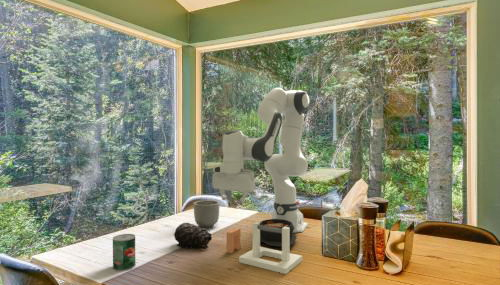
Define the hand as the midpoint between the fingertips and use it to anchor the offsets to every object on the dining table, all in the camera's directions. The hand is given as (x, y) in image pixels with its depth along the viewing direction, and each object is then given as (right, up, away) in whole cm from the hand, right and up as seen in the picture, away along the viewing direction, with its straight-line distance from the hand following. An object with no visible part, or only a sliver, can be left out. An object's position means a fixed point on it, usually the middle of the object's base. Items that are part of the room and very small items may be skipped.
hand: (233, 201), depth 132 cm
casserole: (+19, -21, +12) cm, 31 cm away
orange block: (0, -21, 0) cm, 21 cm away
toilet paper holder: (+15, -21, -12) cm, 28 cm away
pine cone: (-18, -21, +7) cm, 29 cm away
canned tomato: (-40, -22, -16) cm, 48 cm away
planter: (-16, -21, +36) cm, 44 cm away
